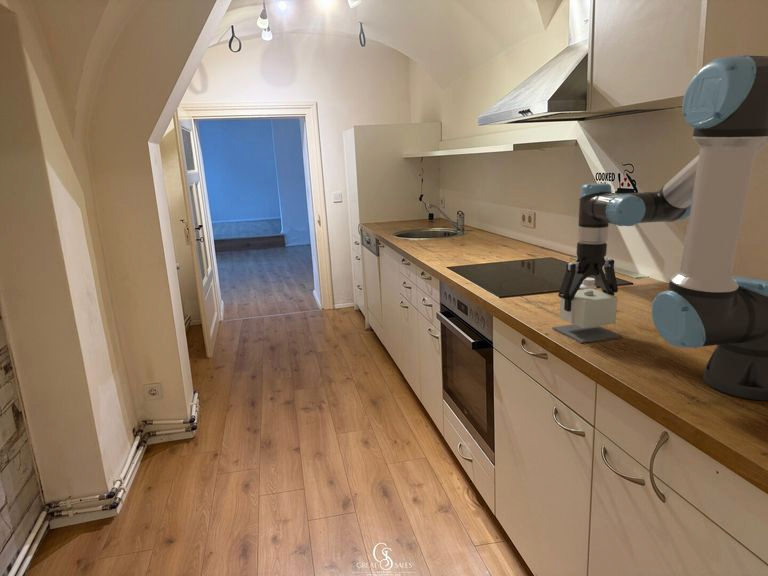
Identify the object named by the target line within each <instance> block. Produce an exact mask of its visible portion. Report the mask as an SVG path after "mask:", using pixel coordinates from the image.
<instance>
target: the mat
mask: <svg viewBox="0 0 768 576" xmlns="http://www.w3.org/2000/svg"><path fill="white" fill-rule="evenodd" d="M552 330H553V331H555V332H557V333H559V334H562V335H563V336H566V338H568V339H571V338H572V339H571V340H573V339H574V340H573V341H575V340H576V341H575V342H577V341H578V342H577V343H579V342H580V343H579V344H581V343H583V344H587V343H586V342H589V343H594V342H601V341H607V340H614V339H620V338H622V337H623V335H622V334H619V333H616V332H615V331H613V330H610V329H609V328H605V327H603V326H595V327H588V328H582V327H579V326H577V325H575V324H573V323H572V324H566V325H559V326H552Z"/></svg>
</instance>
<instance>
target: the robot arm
mask: <svg viewBox="0 0 768 576" xmlns="http://www.w3.org/2000/svg"><path fill="white" fill-rule="evenodd" d="M682 99H683V100H682V109H681V110H682V115H683V116H684V121H685V122H686V123H687V124H688V126H691V127H692V128H693V132H692V133H693V134H692V139H693V140H694V142H695V143H696V144H697V145H698V146H699V153H698V155H696V157H694V158H693V159H692V160H691V161H690V162H688V164H686V166H684V167H683V168H682V169H681V170H680V171H678V173H677V174H675V175H674V176H673V177H672V178H671V179H670V180H669V181H668V182H666V183H665V184H664V185H663V186H662V187H661V188H660V189H659V190H657V191H649V192H627V193H626V192H625V193H617V192H613V191H612V186H611V184H609V183H602V182H601V183H600V182H599V183H595V182H594V183H585V184H583V185H582V186H581V188H580V196H579V199H578V200H579V203H578V204H579V205H578V206H579V207H578V226H577V240H578V242H577V243H576V257H577V259H576V262H567V263H566V266H565V267H566V268H565V270H566V271H565V273H564V276H563V279H562V282H561V286H560V288H559V292H558V294H557V296H558V297H559V298H560V299H561V298H563V299H564V300H565V303H564V310H565V311H566V320H564V321H566V322H567V323H569V324H570V325H572V324H573V323H574V313H575V300H573V298H574V296H575V294H576V293H577V291H578V290H580V286H581V284H583V283H582V282H583V280H584V279H586V278H588V277H591V276H594V277H595V280H596V281H597V282H598V284H599V287H600V289H601V292H604V293H607V294H610V295H612V296H615V293H618V291H619V288H618V283H617V277H616V272H615V260H614V259H611V258H608V257H606V255H607V251H608V250H607V249H608V248H607V247H608V244H607V241H608V239H609V237H608V236H609V224H612V225H614V226H615V225H617V227H634V226H635V225H637V224H646V223H662V222H667V223H672V222H676V221H682V220H685V219H687V218H688V221H687V226H686V231H685V239H684V244H683V251H682V256H681V263H680V268H679V270H678V271H677V272H676V273H674V274H672V275H671V276H670V278H669V283H668V288H667V290H665V291H664V290H663V291H662V292H659V293H658V294H657V295H656V296H655V297H654V299H653V301H652V305H651V317H652V321H653V325H654V326H655V329H656V330H657V332H658V333H657V334H659V336H660V337H661V338H662V340H664V341H665V342H667V343H668V344H669V345H671V346H672V347H676V348H678V349H679V348H680V349H686V348H689V349H690V348H693V349H699V348H701V347H709V346H716V347H715V348H714V351H713V352H712V354H711V356H710V358H709V360H708V361H707V364H706V365H705V366H704V370H703V376H702V377H703V378H702V379H703V381H704V382H705V384H707V385H708V386H710V387H711V388H713V389H715V390H717V391H719V392H722V393H724V394H727V395H731V396H734V397H737V398H743V399H748V400H754V401H755V400H756V401H768V279H763V278H755V277H748V276H738V275H735V276H734V275H732V273H733V269H734V264H735V259H736V253H737V248H738V242H739V239H740V233H741V228H742V223H743V218H744V213H745V209H746V204H747V198H748V193H749V189H750V182H751V178H752V173H753V168H754V164H755V157H756V155H757V154H758V153H759V152H760V151H761V150H763V149H764V148H765V147H767V146H768V55H745V54H744V55H739V54H737V55H735V56H725V57H718V58H716V59H713V60H711V61H710V62H708V63H706V64H705V65H704V66H702V67H701V68H700V69H699V71H698V72H697V73H696V74H694V75H693V77H692V79H691V80H690V81H689V83H688V86H687V87H686V90H685V93H684V95H683V98H682Z"/></svg>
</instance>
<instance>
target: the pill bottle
mask: <svg viewBox="0 0 768 576" xmlns="http://www.w3.org/2000/svg"><path fill="white" fill-rule="evenodd" d="M595 284H596V278H594V277H587V278H586V279H584V280H583V282H582V284H581V286H580V287H579V290H584V289H595V290H597V285H595Z"/></svg>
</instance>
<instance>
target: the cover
mask: <svg viewBox="0 0 768 576" xmlns="http://www.w3.org/2000/svg"><path fill="white" fill-rule="evenodd" d="M559 300H560V302H559V303H560V305H559V318H560V319H563V320H564V321H565V320H566V311H565V310H564V303H565V300H564V299H563V298H561V297H560V299H559ZM573 300H575V313H574V323H572V324H575V325H577V326H579V327H582V328H588V327H595V326H601V327H603V326H607V325H614V324H616V319H617V308H618V296H615V295H614V296H612V295H610V294H607V293H604V292H603V291H602V290H598V289H596V290H595V289H584V290H580V289H578V291H577V293H576V294H575V296H574V298H573Z"/></svg>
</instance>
